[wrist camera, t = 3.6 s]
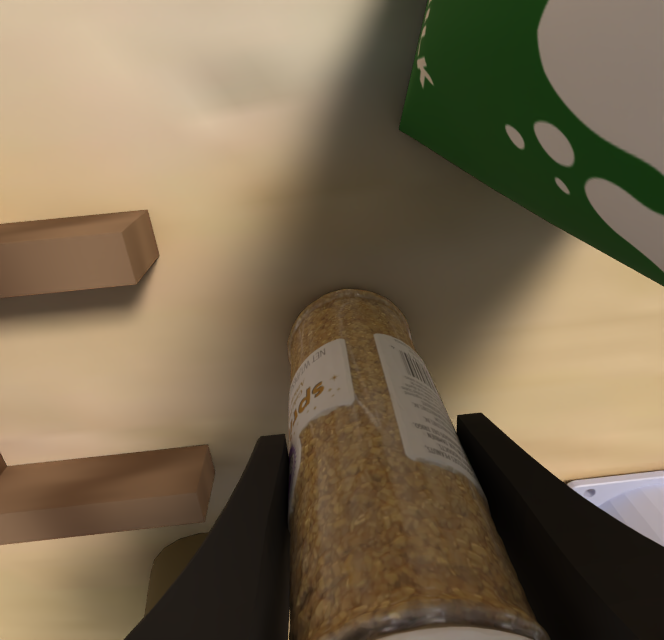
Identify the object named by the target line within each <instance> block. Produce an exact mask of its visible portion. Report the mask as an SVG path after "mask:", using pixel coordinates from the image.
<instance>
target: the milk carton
mask: <svg viewBox="0 0 664 640" xmlns="http://www.w3.org/2000/svg"><path fill="white" fill-rule="evenodd" d="M399 130H400V131H402V132H403V133H405V134H407V135H409V136H410V137H412V138H414V139H415V140H417V141H418V142H420V143H421V144H423V145H425V146H426V147H428V148H429V149H431V150H432V151H434V152H436V153H437V154H439V155H440V156H442V157H443V158H445V159H447V160H448V161H450V162H451V163H453V164H454V165H456V166H458V167H459V168H461V169H462V170H464V171H465V172H467V173H469V174H470V175H472V176H473V177H475V178H476V179H478V180H480V181H481V182H483V183H484V184H486V185H488V186H489V187H491V188H492V189H494V190H496V191H497V192H499V193H501V194H502V195H504V196H506V197H507V198H509V199H511V200H512V201H514V202H516V203H518V204H519V205H521V206H523V207H524V208H526V209H528V210H529V211H531V212H533V213H534V214H536V215H538V216H540V217H541V218H543V219H544V220H546V221H548V222H549V223H551V224H553V225H555V226H557V227H558V228H560V229H562V230H564V231H566V232H567V233H569V234H571V235H573V236H574V237H576V238H578V239H580V240H582V241H583V242H585V243H587V244H589V245H591V246H592V247H594V248H596V249H598V250H600V251H601V252H603V253H605V254H607V255H608V256H610V257H612V258H614V259H616V260H617V261H619V262H621V263H623V264H625V265H626V266H628V267H630V268H632V269H634V270H635V271H637V272H639V273H641V274H642V275H644V276H646V277H648V278H650V279H651V280H653V281H655V282H657V283H659V284H660V285H662V286H664V0H427V5H426V9H425V14H424V18H423V23H422V27H421V32H420V36H419V41H418V45H417V49H416V54H415V58H414V63H413V67H412V72H411V76H410V81H409V85H408V90H407V94H406V99H405V103H404V107H403V112H402V116H401V121H400V125H399Z"/></svg>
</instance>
